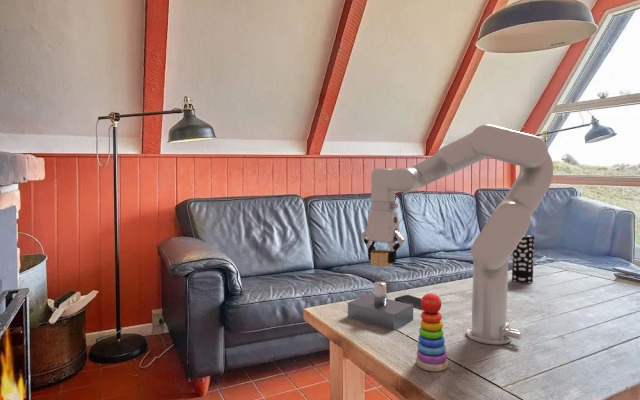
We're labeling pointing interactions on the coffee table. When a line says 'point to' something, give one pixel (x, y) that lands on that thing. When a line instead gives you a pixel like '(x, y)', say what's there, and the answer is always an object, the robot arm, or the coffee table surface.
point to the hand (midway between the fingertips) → (381, 260)
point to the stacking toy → (431, 336)
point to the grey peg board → (380, 309)
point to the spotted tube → (523, 260)
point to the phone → (410, 300)
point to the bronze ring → (380, 258)
